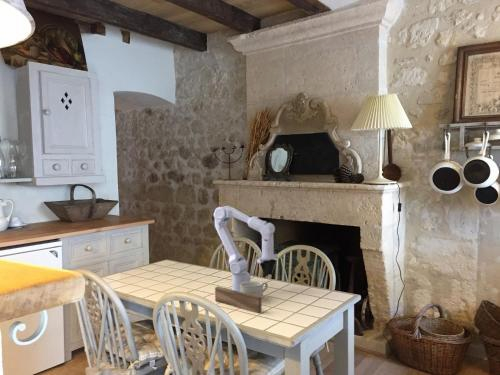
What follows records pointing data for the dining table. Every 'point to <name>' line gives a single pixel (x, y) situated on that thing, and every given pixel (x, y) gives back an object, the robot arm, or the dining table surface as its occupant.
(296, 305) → the dining table surface
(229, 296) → the wall board
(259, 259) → the robot arm
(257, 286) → the teacup
